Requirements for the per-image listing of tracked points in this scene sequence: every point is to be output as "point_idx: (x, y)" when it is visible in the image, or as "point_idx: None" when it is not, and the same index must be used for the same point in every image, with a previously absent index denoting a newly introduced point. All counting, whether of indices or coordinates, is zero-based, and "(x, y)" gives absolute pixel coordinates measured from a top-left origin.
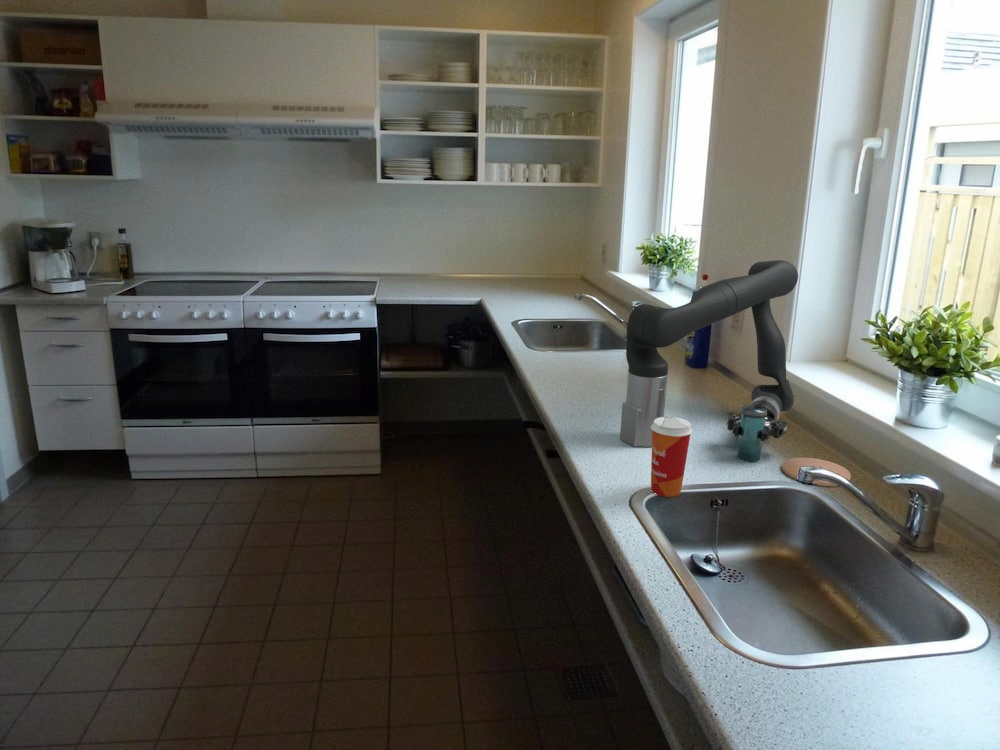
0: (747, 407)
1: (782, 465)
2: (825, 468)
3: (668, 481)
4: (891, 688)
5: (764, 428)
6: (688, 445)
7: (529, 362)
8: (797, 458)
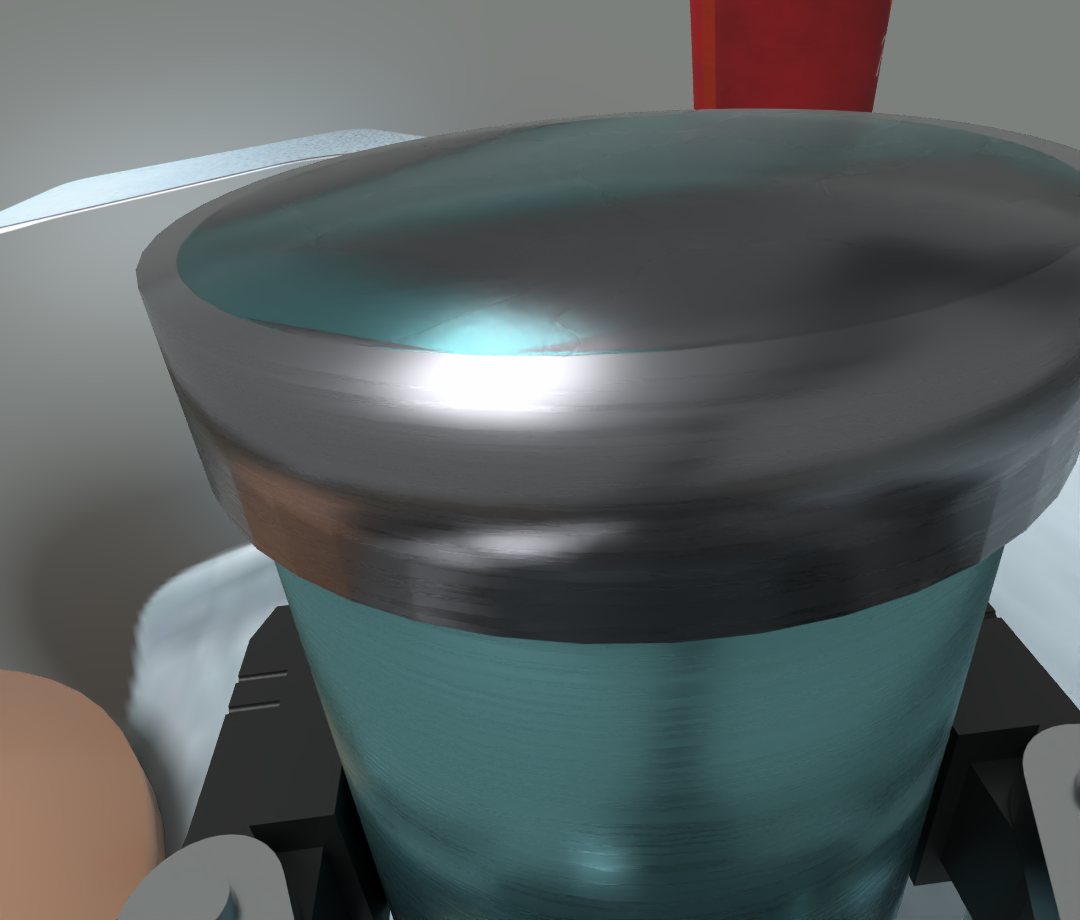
0: (856, 164)
1: (145, 865)
2: None
3: None
4: (162, 179)
5: (332, 745)
6: (696, 34)
7: None
8: None
